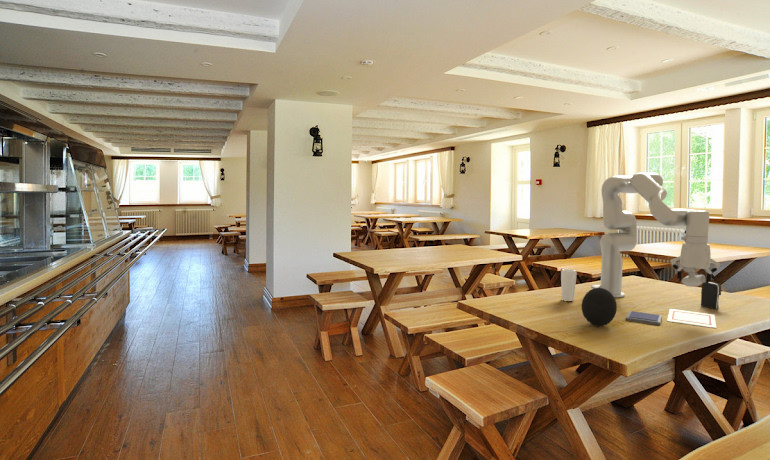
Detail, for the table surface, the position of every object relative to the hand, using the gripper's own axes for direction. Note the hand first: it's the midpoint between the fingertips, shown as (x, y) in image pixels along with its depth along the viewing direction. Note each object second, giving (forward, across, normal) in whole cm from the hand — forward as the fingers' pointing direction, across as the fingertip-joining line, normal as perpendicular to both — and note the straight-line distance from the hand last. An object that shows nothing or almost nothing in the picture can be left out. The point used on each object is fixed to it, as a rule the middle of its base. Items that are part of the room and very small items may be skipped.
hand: (693, 281), depth 183 cm
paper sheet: (+15, 0, 0) cm, 15 cm away
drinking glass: (+16, -49, +1) cm, 51 cm away
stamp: (+2, +1, +1) cm, 2 cm away
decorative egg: (+16, -30, -33) cm, 47 cm away
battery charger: (+16, +7, +26) cm, 31 cm away
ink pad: (+15, -16, -13) cm, 26 cm away
